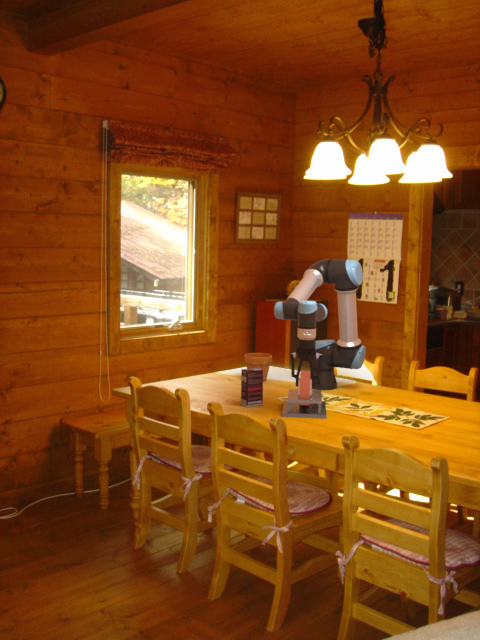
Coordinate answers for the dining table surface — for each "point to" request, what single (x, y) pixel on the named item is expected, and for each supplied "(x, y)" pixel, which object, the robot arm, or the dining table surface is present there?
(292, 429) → the dining table surface
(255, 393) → the supplement box
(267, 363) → the flower pot
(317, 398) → the grey stand
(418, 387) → the dining table surface
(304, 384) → the pink rectangular block
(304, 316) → the robot arm
